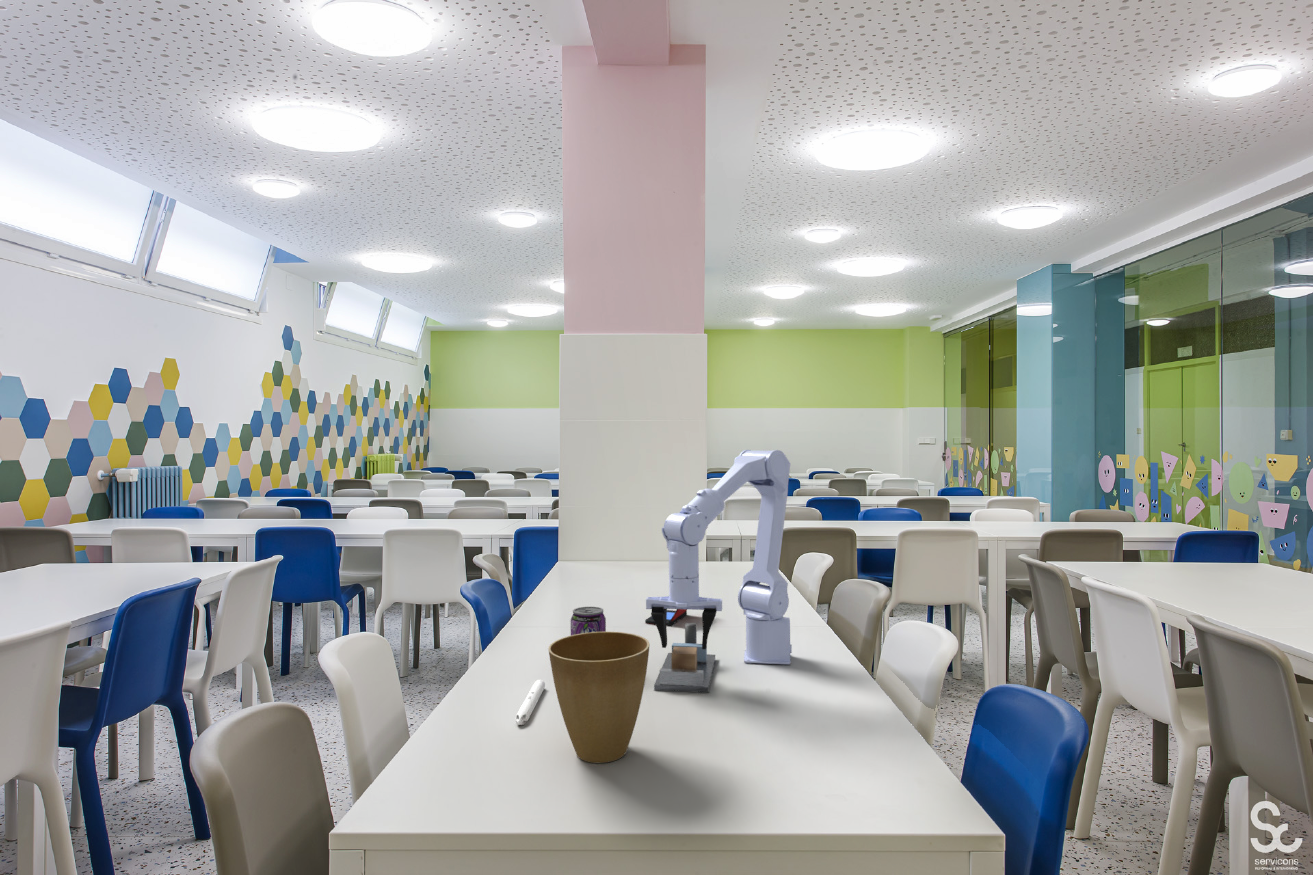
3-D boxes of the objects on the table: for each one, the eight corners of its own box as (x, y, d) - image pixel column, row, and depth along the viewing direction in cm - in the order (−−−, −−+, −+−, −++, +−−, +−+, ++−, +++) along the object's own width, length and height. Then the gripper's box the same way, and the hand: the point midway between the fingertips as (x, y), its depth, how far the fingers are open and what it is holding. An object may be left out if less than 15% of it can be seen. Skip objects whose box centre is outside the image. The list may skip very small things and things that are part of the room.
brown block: (697, 673, 137) (697, 647, 137) (695, 680, 132) (695, 654, 132) (674, 672, 137) (674, 646, 137) (671, 679, 133) (671, 653, 133)
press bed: (668, 657, 150) (668, 640, 150) (715, 659, 148) (715, 642, 148) (654, 690, 130) (654, 671, 130) (708, 692, 129) (708, 673, 129)
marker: (525, 729, 113) (525, 715, 113) (512, 729, 113) (512, 715, 113) (545, 690, 131) (545, 677, 131) (534, 690, 131) (534, 677, 131)
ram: (674, 652, 149) (674, 622, 149) (708, 653, 148) (707, 623, 148) (671, 661, 143) (671, 630, 143) (705, 663, 142) (705, 631, 142)
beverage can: (563, 671, 141) (563, 611, 141) (583, 662, 147) (583, 604, 147) (593, 677, 138) (593, 615, 138) (612, 666, 144) (612, 608, 144)
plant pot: (598, 724, 115) (598, 625, 115) (670, 749, 105) (669, 641, 105) (527, 755, 103) (527, 646, 103) (600, 787, 94) (600, 666, 94)
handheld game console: (660, 613, 190) (660, 585, 190) (699, 617, 186) (699, 588, 186) (643, 624, 178) (643, 595, 178) (683, 628, 174) (683, 598, 174)
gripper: (643, 579, 132) (643, 651, 132) (720, 580, 130) (721, 654, 130) (649, 572, 139) (649, 641, 139) (722, 573, 137) (723, 643, 137)
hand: (684, 646), depth 135 cm, fingers open, 7 cm apart
